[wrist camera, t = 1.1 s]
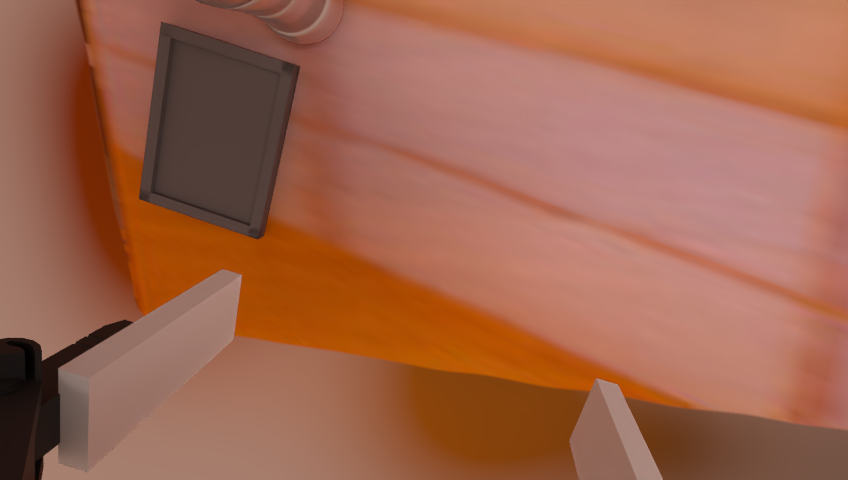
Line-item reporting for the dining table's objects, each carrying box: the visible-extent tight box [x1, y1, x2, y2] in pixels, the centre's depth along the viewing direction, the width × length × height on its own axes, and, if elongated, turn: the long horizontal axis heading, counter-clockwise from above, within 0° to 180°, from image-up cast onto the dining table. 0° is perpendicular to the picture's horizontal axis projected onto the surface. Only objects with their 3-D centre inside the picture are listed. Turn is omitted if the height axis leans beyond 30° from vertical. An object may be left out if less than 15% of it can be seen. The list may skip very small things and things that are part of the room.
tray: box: [139, 22, 300, 239], centre depth 41 cm, size 16×12×1 cm
